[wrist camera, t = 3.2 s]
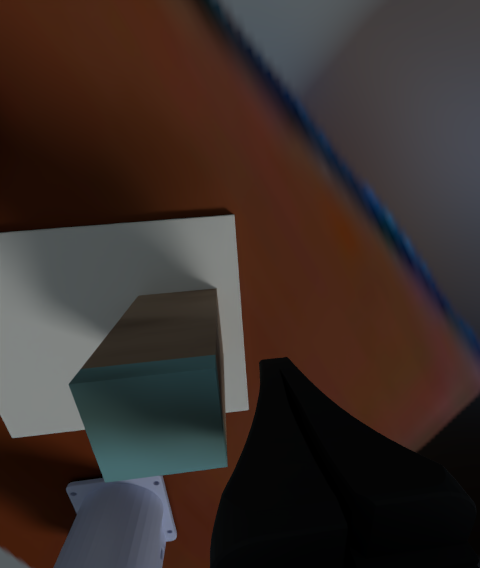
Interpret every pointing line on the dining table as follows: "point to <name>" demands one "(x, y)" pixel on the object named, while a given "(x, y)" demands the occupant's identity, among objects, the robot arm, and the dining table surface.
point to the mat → (102, 305)
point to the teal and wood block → (157, 389)
